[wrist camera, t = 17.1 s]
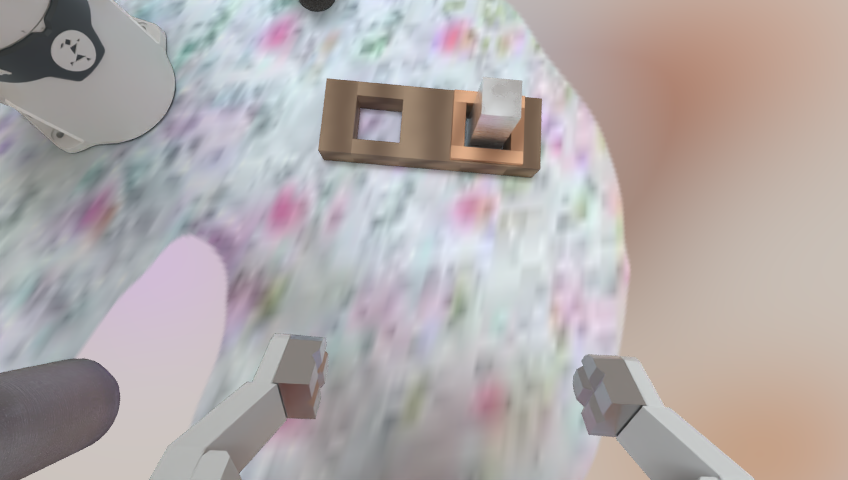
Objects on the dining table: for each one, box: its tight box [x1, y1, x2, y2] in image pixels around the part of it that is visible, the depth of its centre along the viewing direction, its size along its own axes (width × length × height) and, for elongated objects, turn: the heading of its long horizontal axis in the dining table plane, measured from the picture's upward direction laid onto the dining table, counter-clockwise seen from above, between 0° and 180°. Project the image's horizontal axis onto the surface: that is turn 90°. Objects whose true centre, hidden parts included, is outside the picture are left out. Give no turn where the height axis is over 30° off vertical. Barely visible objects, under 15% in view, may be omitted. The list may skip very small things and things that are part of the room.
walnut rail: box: [318, 79, 542, 177], centre depth 44 cm, size 26×9×4 cm, turn 86°
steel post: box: [465, 77, 522, 150], centre depth 41 cm, size 4×4×10 cm
